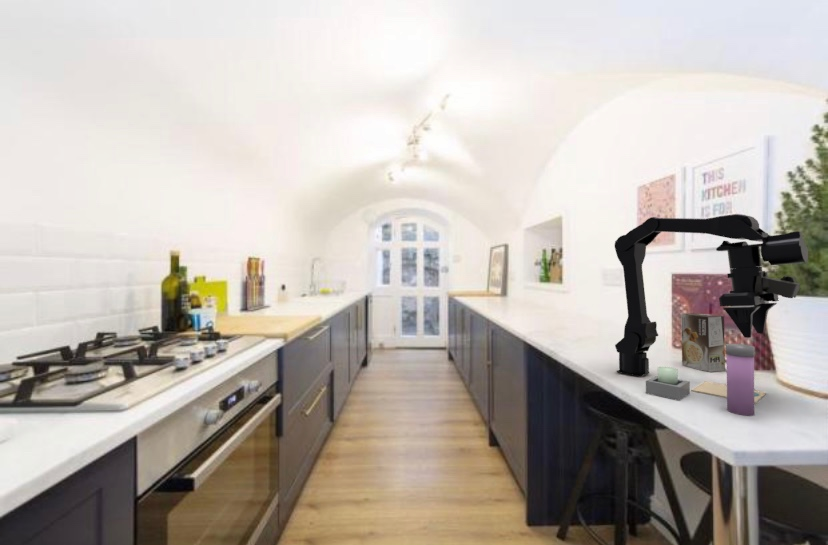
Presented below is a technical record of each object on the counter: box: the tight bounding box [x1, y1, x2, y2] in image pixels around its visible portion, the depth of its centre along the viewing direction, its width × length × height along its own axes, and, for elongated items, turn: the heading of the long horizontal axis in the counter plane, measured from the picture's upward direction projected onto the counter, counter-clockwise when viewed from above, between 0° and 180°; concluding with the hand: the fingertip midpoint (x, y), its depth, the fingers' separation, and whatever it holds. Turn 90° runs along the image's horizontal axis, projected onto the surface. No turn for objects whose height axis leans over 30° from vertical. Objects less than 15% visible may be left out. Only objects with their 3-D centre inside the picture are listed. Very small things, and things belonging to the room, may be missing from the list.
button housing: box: [645, 375, 691, 401], centre depth 93 cm, size 7×7×3 cm
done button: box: [657, 366, 679, 385], centre depth 93 cm, size 4×4×4 cm
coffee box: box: [680, 312, 726, 373], centre depth 117 cm, size 9×6×16 cm
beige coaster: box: [690, 381, 767, 405], centre depth 94 cm, size 12×11×1 cm
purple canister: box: [725, 343, 756, 417], centre depth 81 cm, size 5×5×14 cm
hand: (754, 335), depth 89 cm, fingers open, 9 cm apart
